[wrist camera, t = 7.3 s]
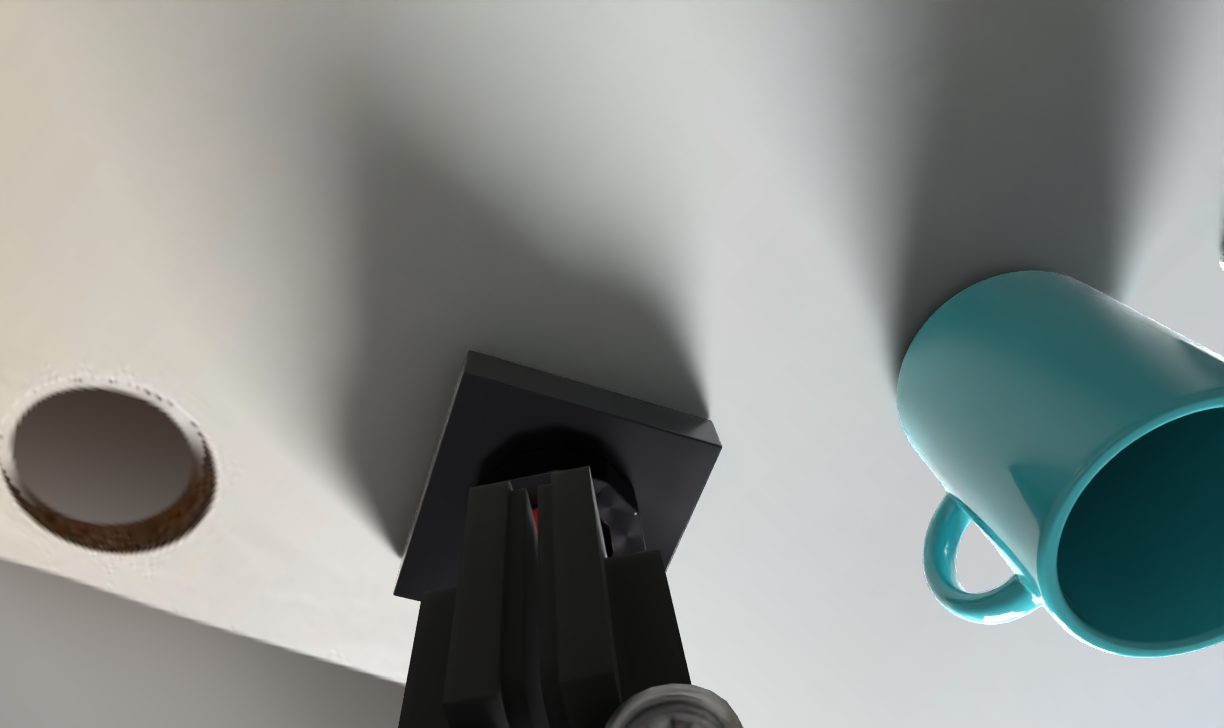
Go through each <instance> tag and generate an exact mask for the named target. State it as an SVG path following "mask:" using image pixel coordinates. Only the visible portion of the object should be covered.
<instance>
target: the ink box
mask: <svg viewBox="0 0 1224 728" xmlns="http://www.w3.org/2000/svg"><path fill="white" fill-rule="evenodd" d="M1219 263H1220V266H1221V267H1222V269H1223V270H1224V255H1223V256H1222V257H1221V258H1220V260H1219Z"/></svg>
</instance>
